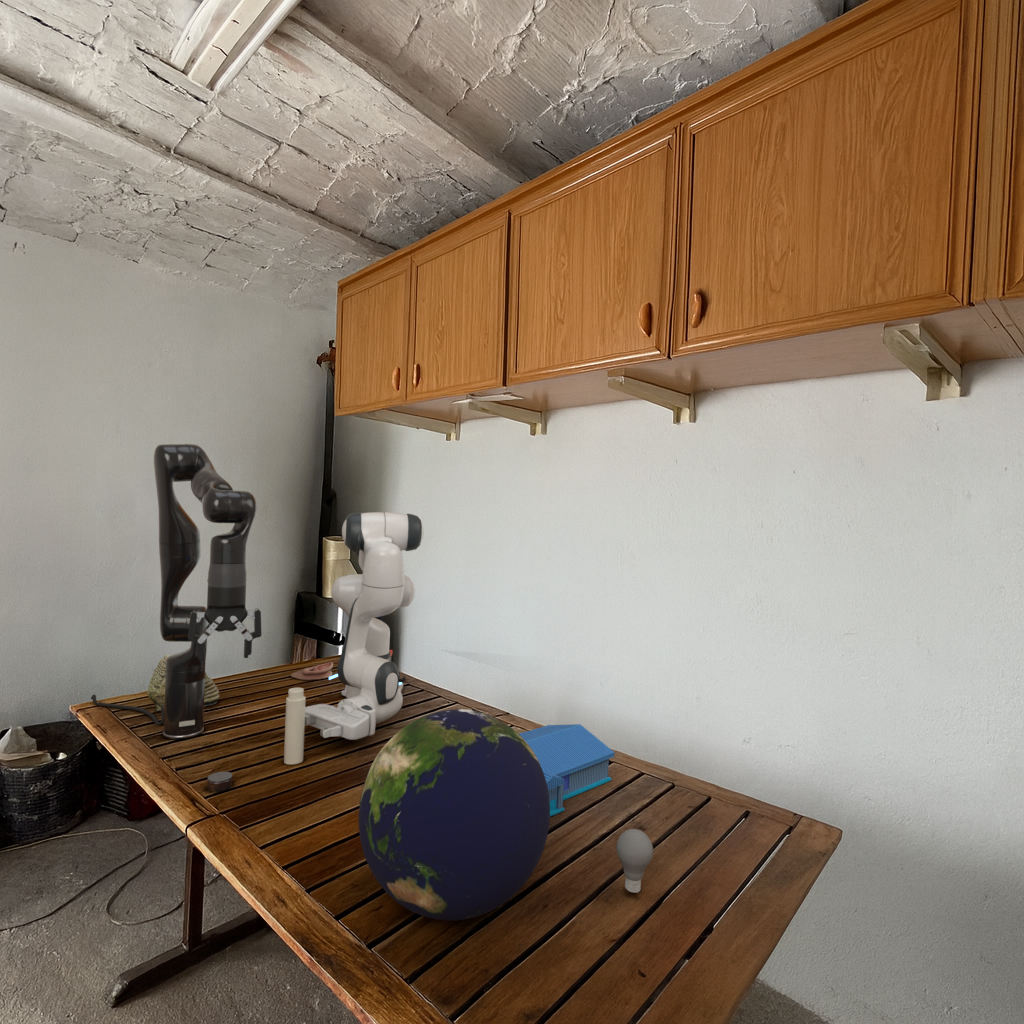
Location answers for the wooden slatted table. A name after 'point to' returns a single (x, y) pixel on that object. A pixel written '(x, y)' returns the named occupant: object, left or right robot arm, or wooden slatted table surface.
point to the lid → (219, 781)
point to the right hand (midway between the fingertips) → (309, 729)
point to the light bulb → (634, 857)
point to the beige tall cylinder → (294, 726)
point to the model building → (569, 760)
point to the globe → (454, 815)
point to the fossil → (158, 687)
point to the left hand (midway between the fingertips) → (224, 658)
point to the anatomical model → (314, 672)
